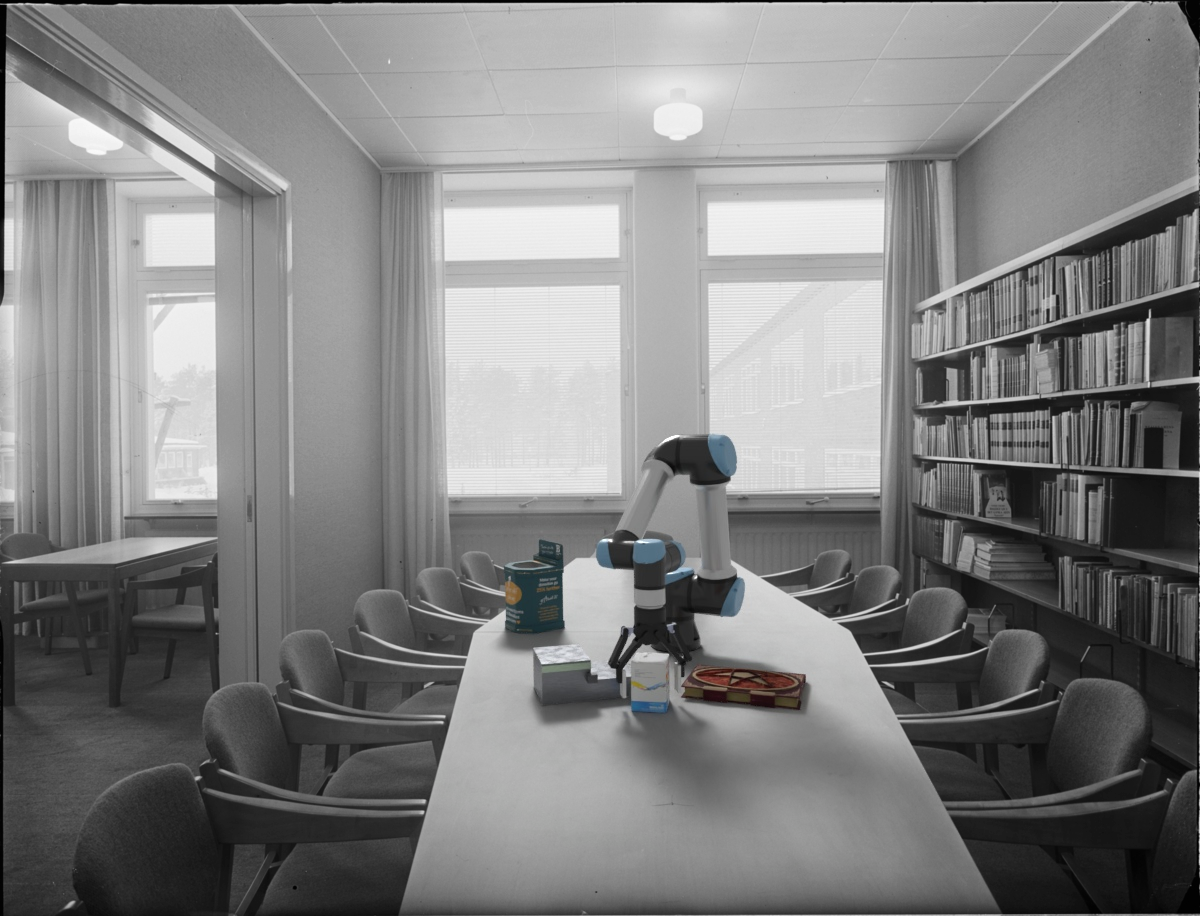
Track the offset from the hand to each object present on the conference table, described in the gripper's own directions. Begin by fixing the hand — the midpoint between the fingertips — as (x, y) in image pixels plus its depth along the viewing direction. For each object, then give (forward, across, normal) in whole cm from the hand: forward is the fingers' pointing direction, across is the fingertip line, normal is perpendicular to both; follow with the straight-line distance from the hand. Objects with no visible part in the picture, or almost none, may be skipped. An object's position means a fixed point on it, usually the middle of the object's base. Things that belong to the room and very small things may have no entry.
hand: (650, 693), depth 178 cm
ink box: (+3, 0, 0) cm, 3 cm away
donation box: (+3, +17, -79) cm, 81 cm away
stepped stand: (+3, +13, -13) cm, 19 cm away
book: (+4, -26, -4) cm, 26 cm away
